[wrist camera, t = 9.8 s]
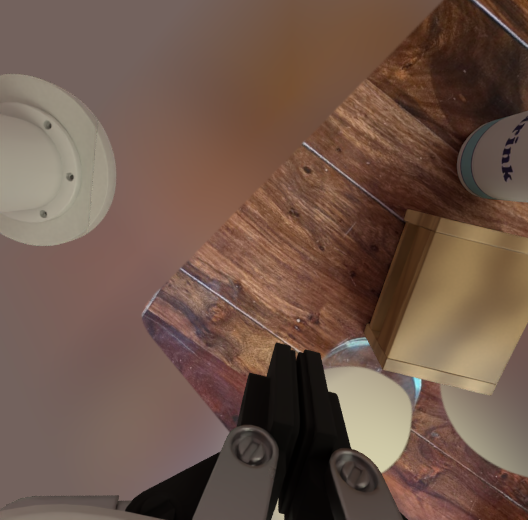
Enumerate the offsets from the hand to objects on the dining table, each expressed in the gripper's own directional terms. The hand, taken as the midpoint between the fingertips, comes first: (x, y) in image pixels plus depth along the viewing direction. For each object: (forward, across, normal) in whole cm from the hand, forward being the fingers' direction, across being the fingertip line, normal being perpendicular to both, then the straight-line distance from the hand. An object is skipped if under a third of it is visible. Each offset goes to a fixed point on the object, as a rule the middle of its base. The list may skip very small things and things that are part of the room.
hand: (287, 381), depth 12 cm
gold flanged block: (+22, -16, 0) cm, 27 cm away
